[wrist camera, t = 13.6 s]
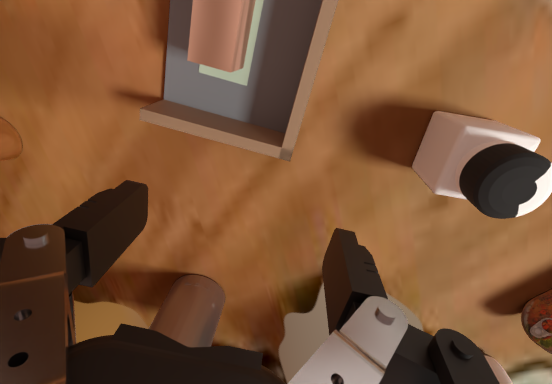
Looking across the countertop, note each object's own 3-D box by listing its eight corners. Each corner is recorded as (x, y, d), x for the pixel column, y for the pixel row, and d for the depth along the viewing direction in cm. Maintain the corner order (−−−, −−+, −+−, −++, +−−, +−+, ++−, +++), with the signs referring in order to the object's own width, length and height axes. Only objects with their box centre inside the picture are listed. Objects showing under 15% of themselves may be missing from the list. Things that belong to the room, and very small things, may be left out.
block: (264, -46, 26) (253, -70, 21) (243, 68, 31) (230, 72, 26) (222, -59, 26) (200, -85, 21) (207, 57, 31) (187, 60, 26)
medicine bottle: (410, 167, 35) (455, 220, 25) (433, 109, 32) (497, 141, 21) (467, 177, 35) (538, 235, 24) (496, 120, 32) (593, 158, 21)
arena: (292, 143, 35) (289, 161, 30) (165, 108, 34) (139, 119, 29) (352, -61, 26) (365, -89, 20) (180, -114, 25) (147, -157, 20)
